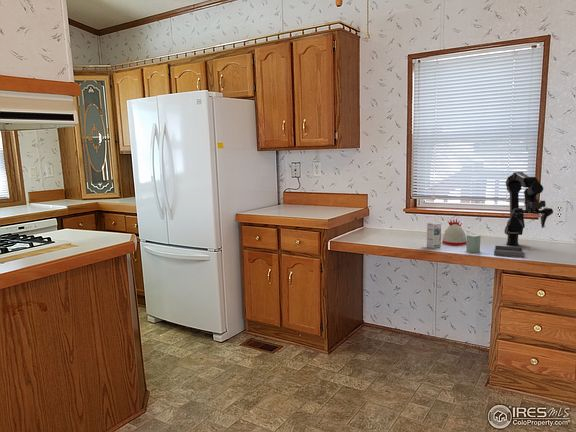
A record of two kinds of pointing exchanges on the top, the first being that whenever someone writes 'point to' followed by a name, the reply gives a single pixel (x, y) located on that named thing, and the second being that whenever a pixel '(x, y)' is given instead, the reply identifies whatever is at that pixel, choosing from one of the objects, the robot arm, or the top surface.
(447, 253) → the top surface
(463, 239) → the cream dome with spikes
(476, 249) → the sage block
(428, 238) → the syrup box
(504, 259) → the top surface
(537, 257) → the top surface
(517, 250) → the tray
